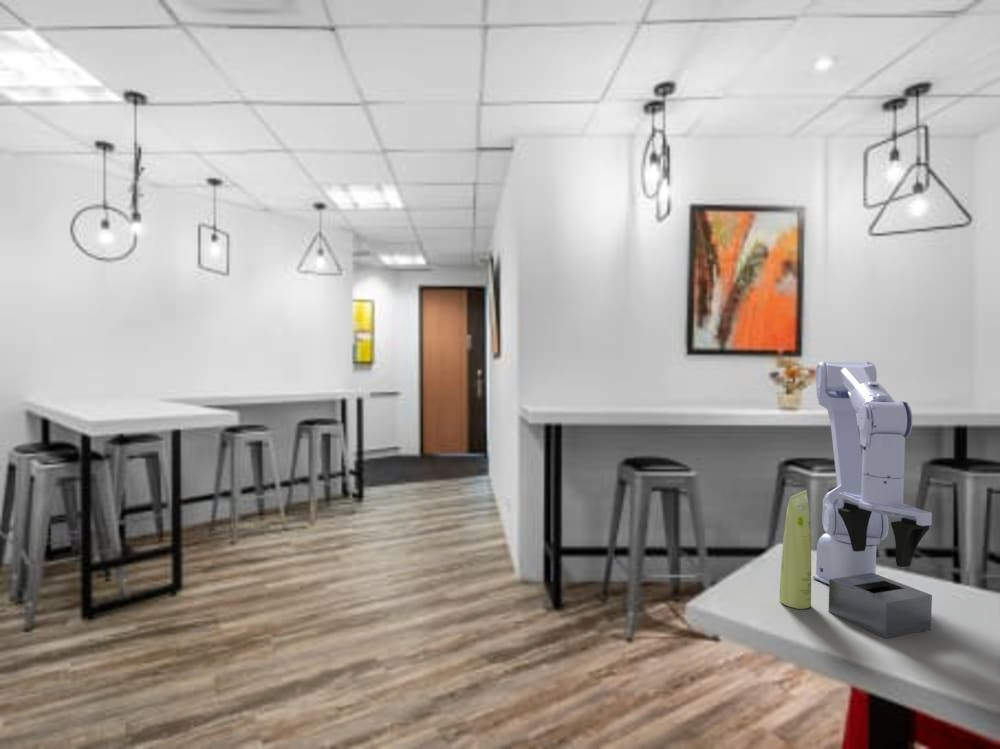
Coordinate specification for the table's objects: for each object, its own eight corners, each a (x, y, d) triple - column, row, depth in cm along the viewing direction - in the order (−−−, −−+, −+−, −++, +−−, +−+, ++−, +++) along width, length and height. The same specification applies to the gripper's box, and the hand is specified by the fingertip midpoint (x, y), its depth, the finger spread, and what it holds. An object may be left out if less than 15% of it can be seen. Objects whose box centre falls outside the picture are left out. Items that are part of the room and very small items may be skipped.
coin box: (828, 611, 97) (829, 579, 97) (871, 604, 101) (872, 572, 101) (885, 638, 88) (886, 602, 88) (930, 629, 91) (931, 595, 91)
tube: (818, 612, 97) (821, 497, 97) (786, 610, 98) (789, 495, 97) (803, 598, 103) (806, 489, 102) (774, 596, 103) (777, 488, 103)
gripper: (825, 468, 99) (823, 546, 100) (909, 485, 86) (907, 576, 86) (855, 466, 102) (853, 543, 102) (942, 483, 88) (939, 571, 88)
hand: (880, 558), depth 94 cm, fingers open, 7 cm apart
